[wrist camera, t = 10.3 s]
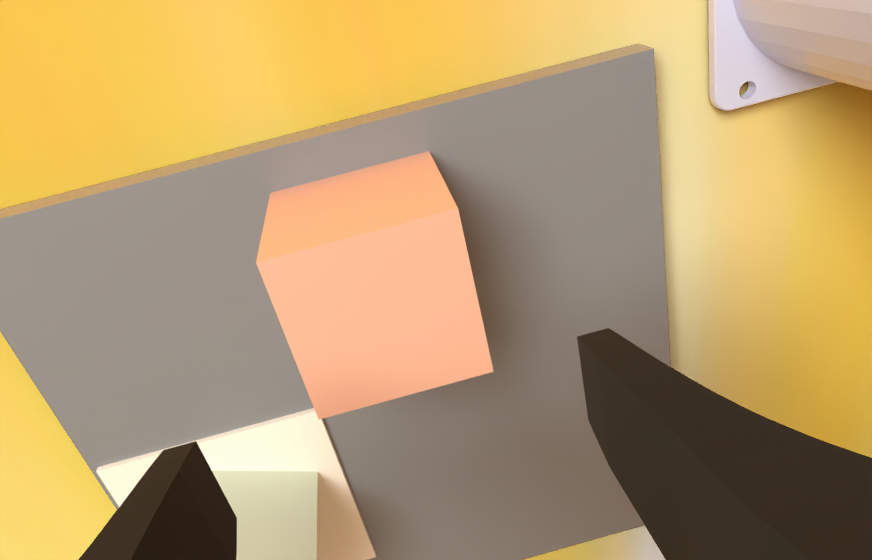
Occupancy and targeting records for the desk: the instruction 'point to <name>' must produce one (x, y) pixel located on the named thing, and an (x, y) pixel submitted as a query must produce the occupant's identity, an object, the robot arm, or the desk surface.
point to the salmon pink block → (373, 284)
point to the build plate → (271, 355)
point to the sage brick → (273, 513)
